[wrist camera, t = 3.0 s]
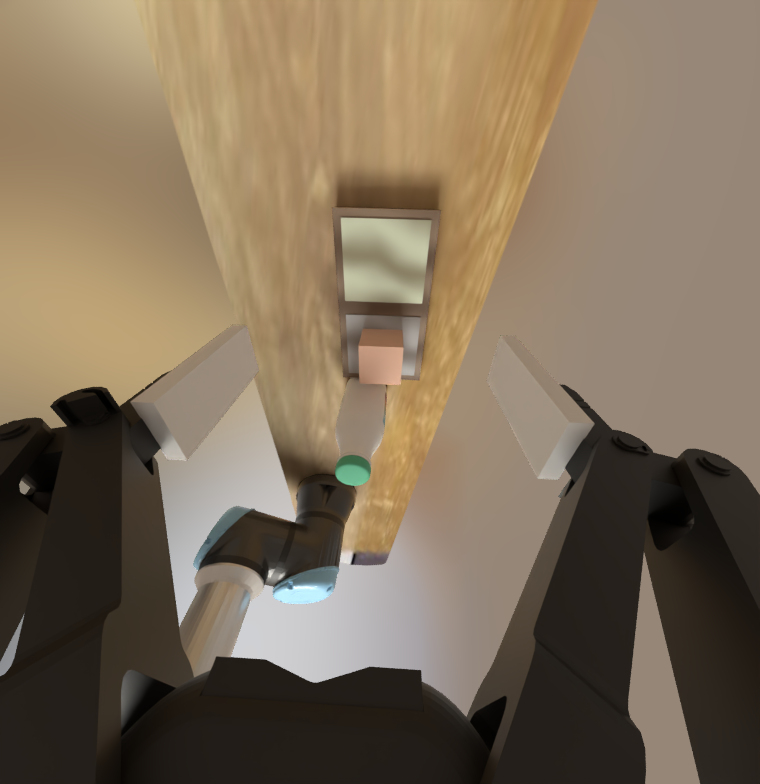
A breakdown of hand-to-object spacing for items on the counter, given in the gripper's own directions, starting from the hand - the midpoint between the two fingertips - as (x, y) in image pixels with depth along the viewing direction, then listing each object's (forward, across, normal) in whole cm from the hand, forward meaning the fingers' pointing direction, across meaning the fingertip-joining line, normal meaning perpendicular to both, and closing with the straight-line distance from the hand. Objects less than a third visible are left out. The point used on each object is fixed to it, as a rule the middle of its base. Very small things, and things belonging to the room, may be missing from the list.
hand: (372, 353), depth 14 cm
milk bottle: (+29, +3, +22) cm, 37 cm away
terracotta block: (+26, 0, +12) cm, 28 cm away
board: (+29, 0, +6) cm, 29 cm away
